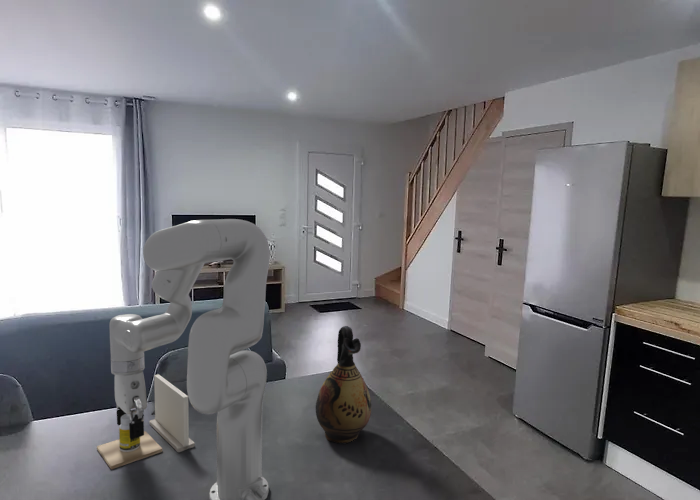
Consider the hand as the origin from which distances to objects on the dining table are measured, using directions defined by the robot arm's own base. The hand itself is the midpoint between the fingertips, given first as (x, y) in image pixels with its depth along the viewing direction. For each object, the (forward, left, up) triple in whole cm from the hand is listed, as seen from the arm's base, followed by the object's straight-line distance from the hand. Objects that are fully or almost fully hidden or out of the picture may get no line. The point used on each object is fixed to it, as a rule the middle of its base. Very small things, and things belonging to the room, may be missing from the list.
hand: (130, 430), depth 115 cm
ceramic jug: (-29, -47, -6) cm, 55 cm away
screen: (+1, -11, -6) cm, 12 cm away
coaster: (0, 0, -6) cm, 6 cm away
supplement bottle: (0, 0, -5) cm, 5 cm away
